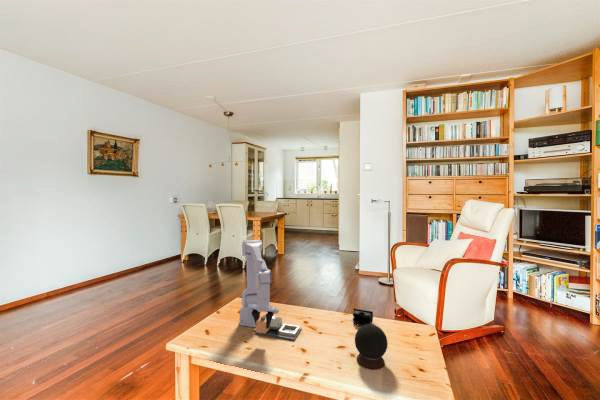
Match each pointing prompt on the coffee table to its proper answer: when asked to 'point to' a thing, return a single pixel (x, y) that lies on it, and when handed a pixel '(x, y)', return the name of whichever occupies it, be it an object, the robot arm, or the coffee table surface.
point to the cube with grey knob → (261, 325)
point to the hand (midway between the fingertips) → (262, 326)
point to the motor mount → (281, 330)
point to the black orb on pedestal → (371, 346)
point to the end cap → (362, 317)
